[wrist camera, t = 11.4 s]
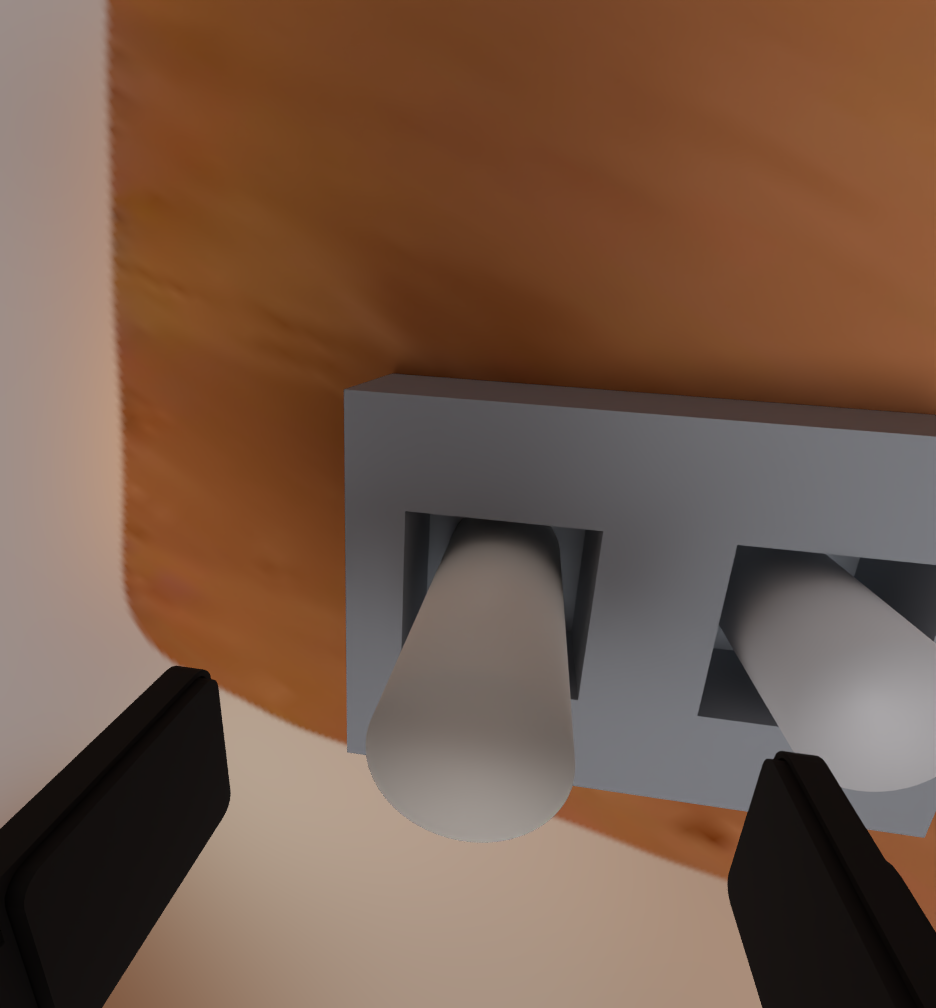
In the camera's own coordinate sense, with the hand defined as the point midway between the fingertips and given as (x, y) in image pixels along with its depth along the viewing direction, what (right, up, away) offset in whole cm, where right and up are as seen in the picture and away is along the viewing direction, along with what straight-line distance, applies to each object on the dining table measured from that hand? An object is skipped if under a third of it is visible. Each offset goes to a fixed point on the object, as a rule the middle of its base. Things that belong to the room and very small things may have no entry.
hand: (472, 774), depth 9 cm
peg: (+1, +3, +10) cm, 11 cm away
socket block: (+6, +3, +11) cm, 13 cm away
